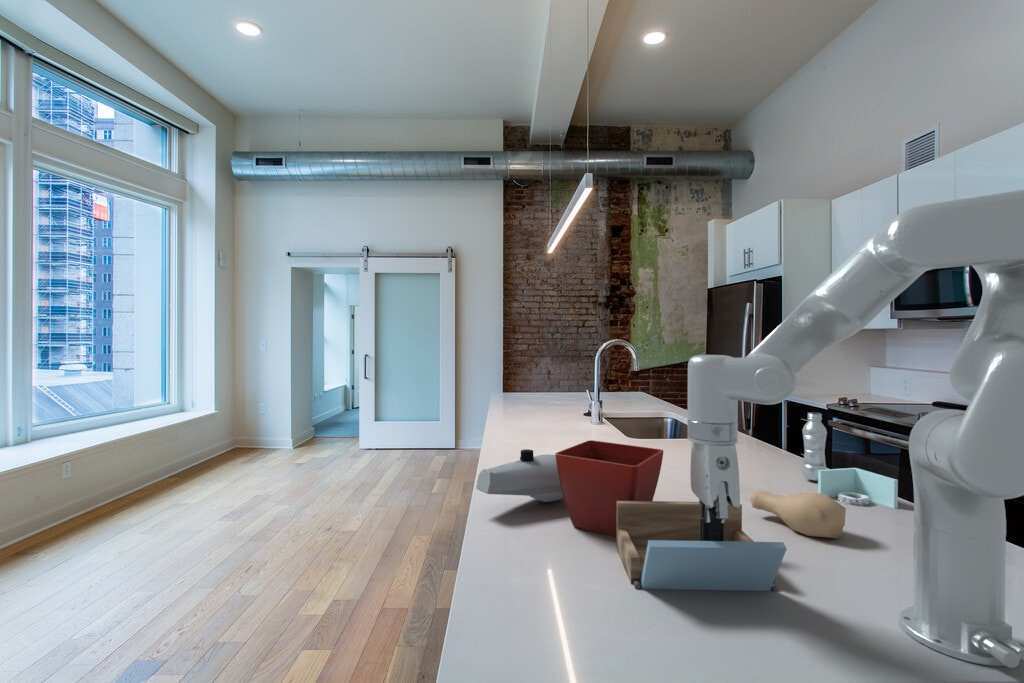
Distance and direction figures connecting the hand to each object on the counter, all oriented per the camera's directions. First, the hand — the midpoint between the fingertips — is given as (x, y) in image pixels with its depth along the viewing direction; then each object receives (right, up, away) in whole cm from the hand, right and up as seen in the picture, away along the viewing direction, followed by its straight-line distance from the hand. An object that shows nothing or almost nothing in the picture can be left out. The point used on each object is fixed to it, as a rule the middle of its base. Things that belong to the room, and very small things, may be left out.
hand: (711, 545), depth 81 cm
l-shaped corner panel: (+57, -9, +49) cm, 76 cm away
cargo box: (0, -9, +11) cm, 15 cm away
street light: (-27, -9, +47) cm, 55 cm away
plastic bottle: (+58, -9, +69) cm, 91 cm away
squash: (+31, -9, +31) cm, 45 cm away
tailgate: (0, -9, +3) cm, 9 cm away
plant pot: (-10, -9, +33) cm, 36 cm away
